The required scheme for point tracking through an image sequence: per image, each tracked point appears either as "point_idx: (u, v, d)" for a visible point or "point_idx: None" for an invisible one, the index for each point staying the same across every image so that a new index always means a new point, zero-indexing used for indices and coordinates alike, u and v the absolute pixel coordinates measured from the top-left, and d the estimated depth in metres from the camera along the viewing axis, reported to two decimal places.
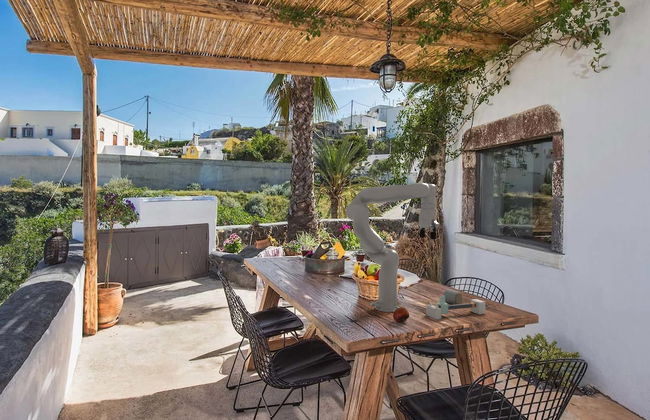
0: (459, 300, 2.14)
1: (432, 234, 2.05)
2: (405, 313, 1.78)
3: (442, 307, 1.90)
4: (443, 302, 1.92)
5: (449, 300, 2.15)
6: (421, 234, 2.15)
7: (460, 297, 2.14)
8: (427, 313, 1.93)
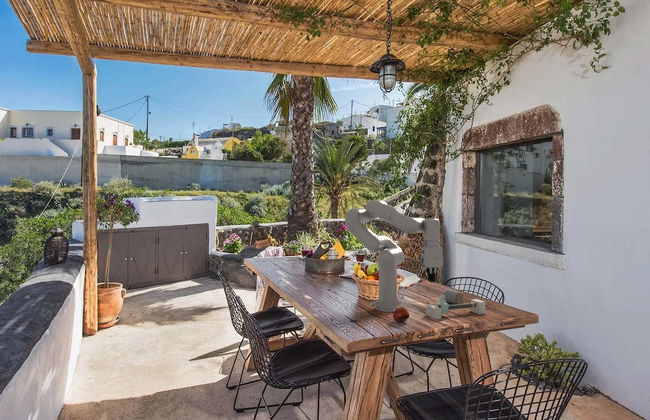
0: (460, 300, 2.14)
1: None
2: (405, 313, 1.78)
3: (442, 307, 1.90)
4: (443, 302, 1.92)
5: (450, 300, 2.15)
6: None
7: (461, 297, 2.15)
8: (427, 313, 1.93)
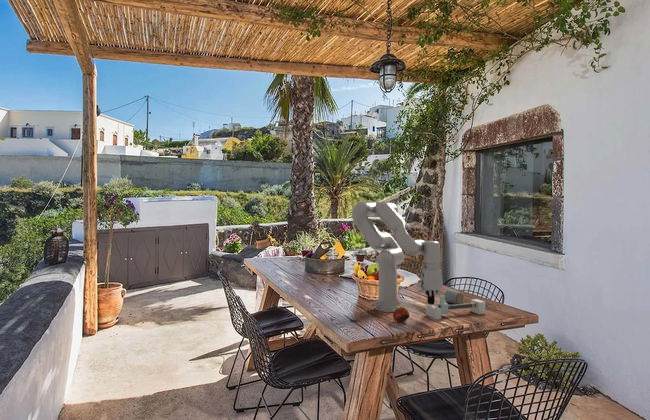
0: (460, 300, 2.14)
1: (433, 298, 1.90)
2: (405, 313, 1.78)
3: (442, 307, 1.90)
4: (443, 302, 1.92)
5: (450, 300, 2.15)
6: None
7: (461, 297, 2.15)
8: (427, 313, 1.93)
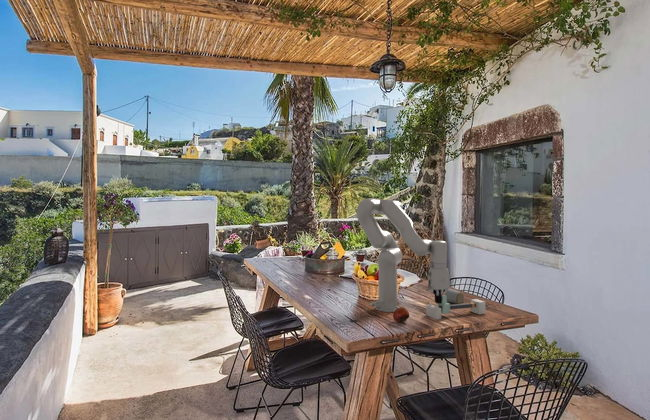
0: (460, 300, 2.15)
1: None
2: (405, 313, 1.78)
3: (444, 307, 1.90)
4: (445, 302, 1.92)
5: (450, 300, 2.15)
6: None
7: (461, 297, 2.15)
8: (427, 313, 1.93)
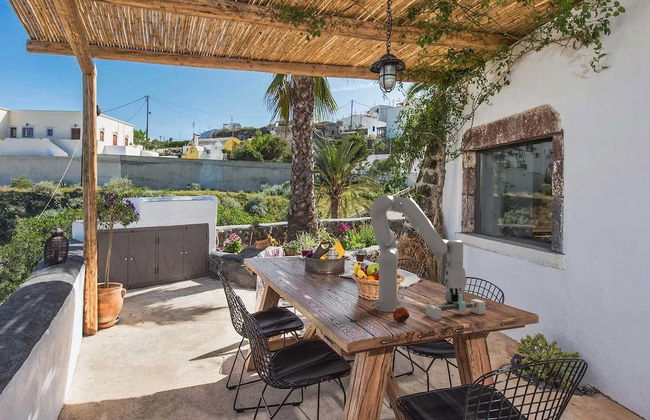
0: None
1: (457, 296, 1.94)
2: (405, 313, 1.78)
3: (460, 305, 1.94)
4: (461, 300, 1.96)
5: None
6: None
7: None
8: (427, 313, 1.93)
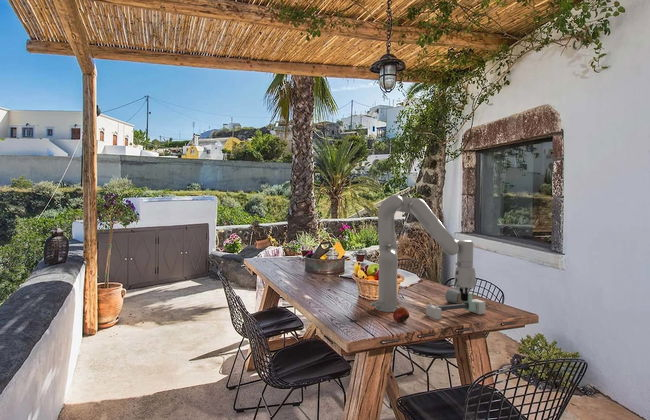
0: None
1: None
2: (405, 313, 1.78)
3: (470, 304, 1.96)
4: (470, 300, 1.98)
5: (451, 300, 2.16)
6: None
7: None
8: (427, 313, 1.93)
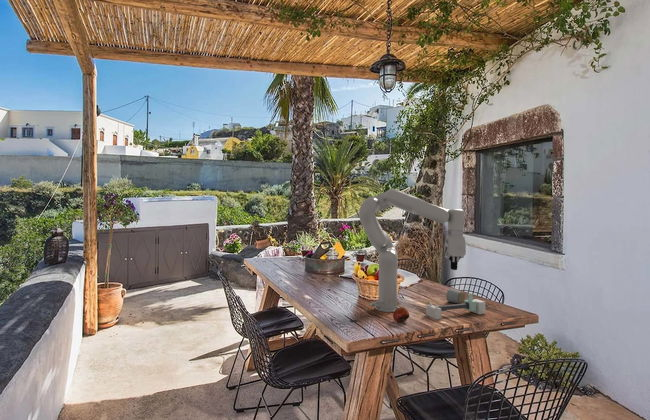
0: (462, 299, 2.15)
1: (456, 264, 1.96)
2: (405, 313, 1.78)
3: (470, 304, 1.96)
4: (471, 299, 1.98)
5: (452, 299, 2.16)
6: None
7: (463, 296, 2.16)
8: (427, 313, 1.93)
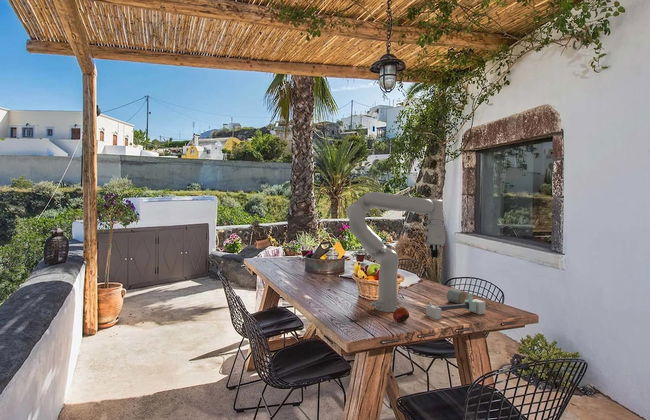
0: (463, 299, 2.16)
1: None
2: (405, 313, 1.78)
3: (470, 304, 1.96)
4: (471, 299, 1.98)
5: (453, 299, 2.17)
6: None
7: (463, 296, 2.16)
8: (427, 313, 1.93)
